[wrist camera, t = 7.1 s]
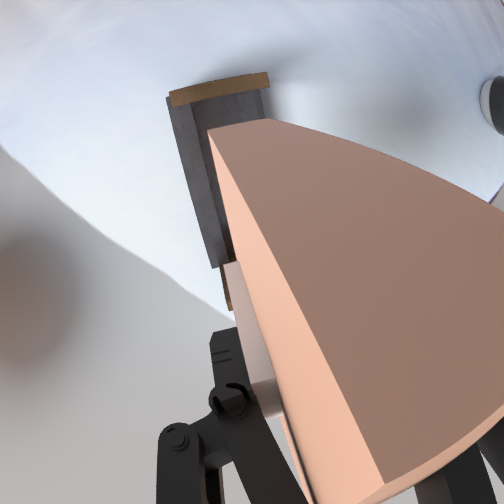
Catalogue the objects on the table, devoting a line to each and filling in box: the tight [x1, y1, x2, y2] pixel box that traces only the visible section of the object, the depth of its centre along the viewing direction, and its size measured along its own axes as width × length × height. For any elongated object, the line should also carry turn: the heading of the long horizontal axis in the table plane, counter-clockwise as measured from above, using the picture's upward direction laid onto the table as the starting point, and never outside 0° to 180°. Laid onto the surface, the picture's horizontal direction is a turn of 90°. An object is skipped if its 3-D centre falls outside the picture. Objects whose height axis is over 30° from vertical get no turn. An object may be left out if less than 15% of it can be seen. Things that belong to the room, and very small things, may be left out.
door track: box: [166, 72, 270, 311], centre depth 26 cm, size 9×20×9 cm, turn 10°
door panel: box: [207, 118, 504, 504], centre depth 11 cm, size 3×14×14 cm, turn 10°
